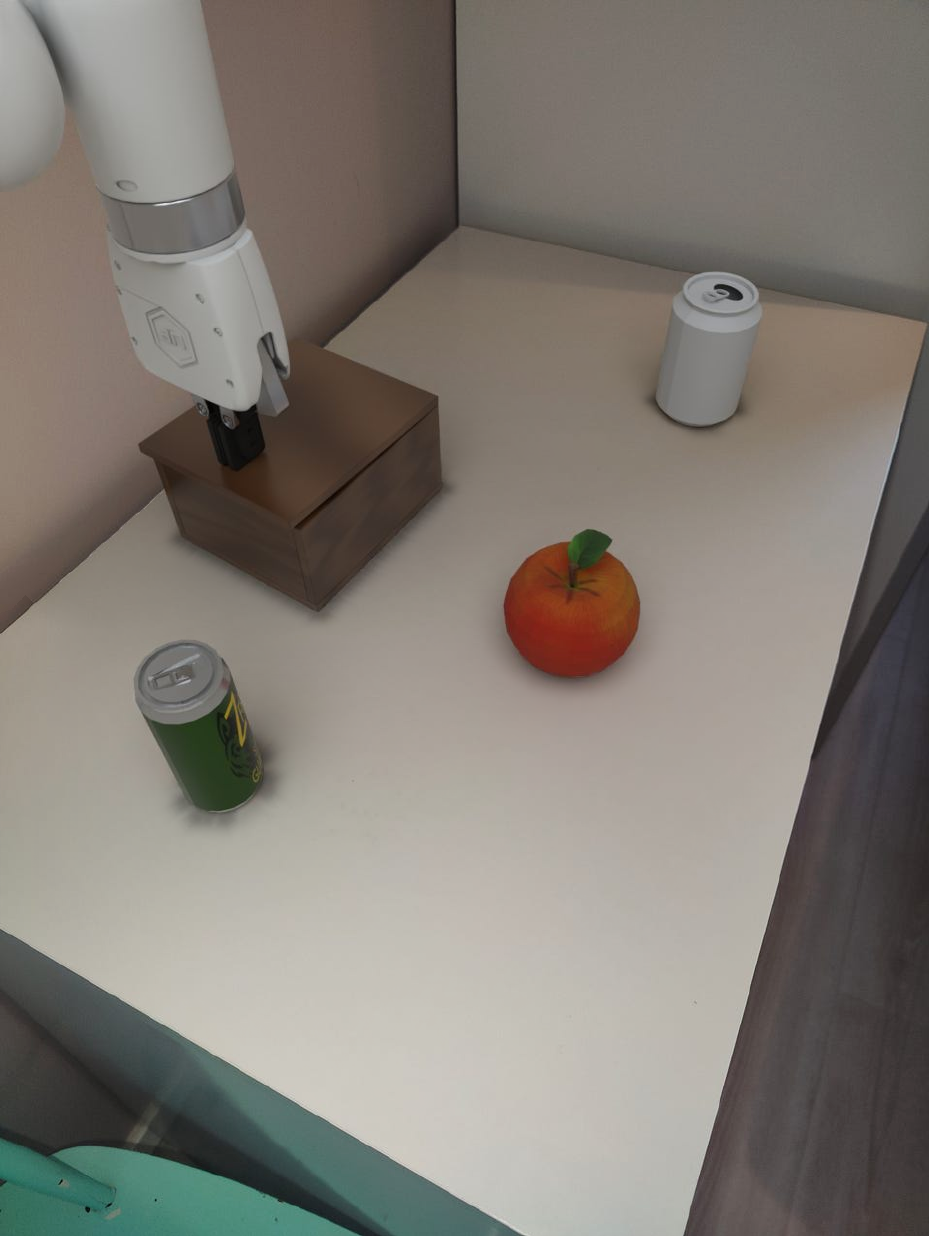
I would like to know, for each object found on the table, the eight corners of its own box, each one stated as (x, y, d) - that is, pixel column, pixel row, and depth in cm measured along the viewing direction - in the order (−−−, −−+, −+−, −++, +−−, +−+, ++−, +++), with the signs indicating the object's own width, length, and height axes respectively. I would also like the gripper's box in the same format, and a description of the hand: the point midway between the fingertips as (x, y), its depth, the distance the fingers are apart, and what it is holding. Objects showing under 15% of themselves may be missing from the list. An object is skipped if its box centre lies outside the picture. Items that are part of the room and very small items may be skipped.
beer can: (194, 829, 57) (140, 728, 48) (175, 762, 61) (120, 655, 51) (275, 797, 59) (238, 693, 50) (252, 733, 62) (213, 624, 53)
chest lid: (290, 530, 61) (289, 521, 60) (140, 452, 66) (137, 443, 66) (438, 404, 71) (438, 395, 70) (296, 344, 76) (295, 336, 75)
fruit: (474, 652, 66) (473, 559, 58) (553, 578, 71) (562, 483, 63) (579, 724, 62) (594, 635, 54) (656, 641, 67) (679, 547, 59)
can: (752, 412, 83) (787, 294, 74) (693, 443, 81) (720, 324, 71) (696, 372, 87) (721, 255, 78) (637, 400, 85) (656, 283, 75)
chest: (317, 612, 69) (300, 530, 62) (181, 537, 74) (151, 454, 67) (442, 488, 77) (439, 404, 71) (312, 428, 83) (297, 345, 76)
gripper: (33, 198, 51) (131, 448, 66) (225, 273, 46) (287, 528, 60) (132, 147, 55) (204, 394, 69) (320, 211, 50) (357, 465, 64)
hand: (242, 456), depth 65 cm, fingers closed
